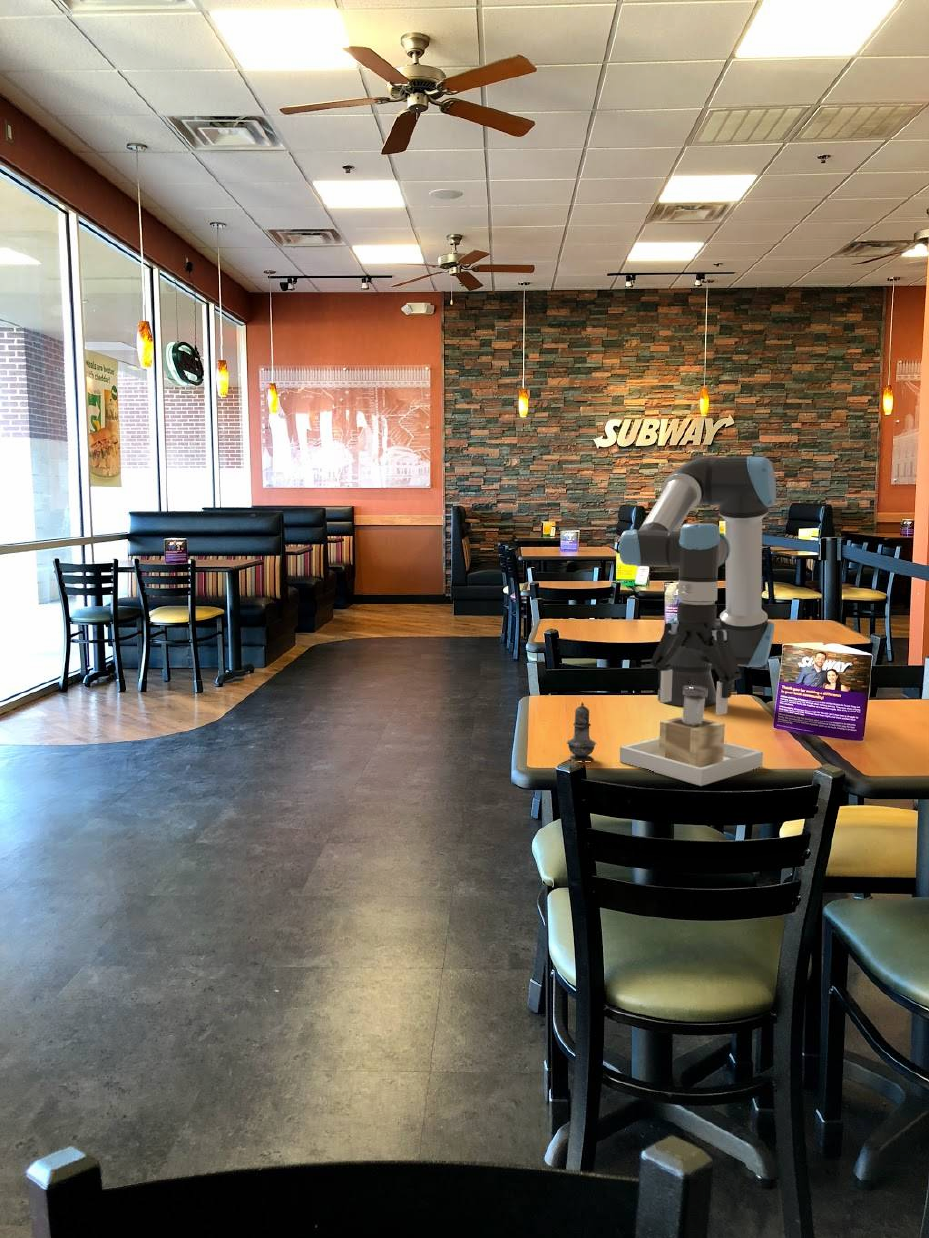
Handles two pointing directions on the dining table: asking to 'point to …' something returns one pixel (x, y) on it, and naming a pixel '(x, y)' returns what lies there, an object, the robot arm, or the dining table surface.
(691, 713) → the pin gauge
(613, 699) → the dining table surface
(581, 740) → the salt shaker
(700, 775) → the tray
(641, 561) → the robot arm
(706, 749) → the wooden box
